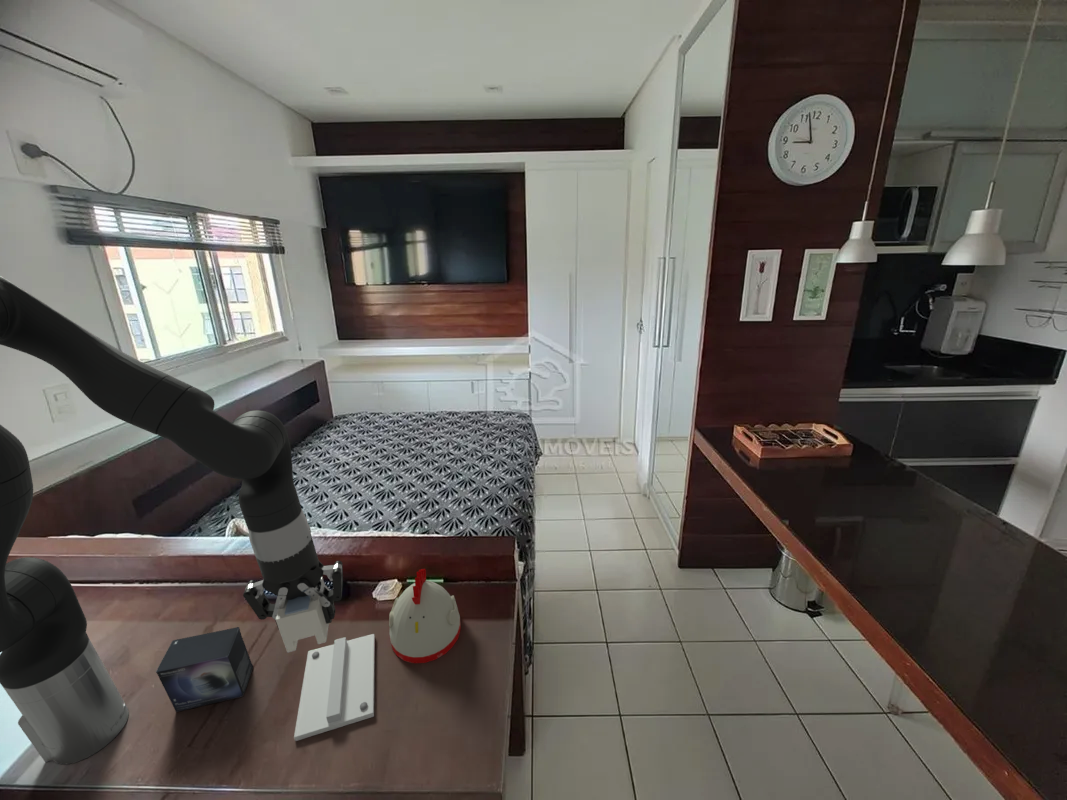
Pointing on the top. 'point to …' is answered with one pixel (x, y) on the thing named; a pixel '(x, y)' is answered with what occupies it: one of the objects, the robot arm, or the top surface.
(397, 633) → the kitchen timer
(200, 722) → the top surface
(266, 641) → the top surface
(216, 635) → the small box
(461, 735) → the top surface
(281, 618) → the block
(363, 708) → the mounting plate
